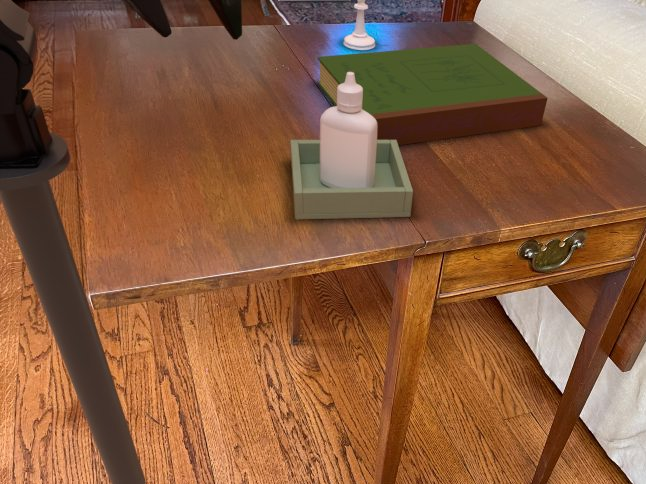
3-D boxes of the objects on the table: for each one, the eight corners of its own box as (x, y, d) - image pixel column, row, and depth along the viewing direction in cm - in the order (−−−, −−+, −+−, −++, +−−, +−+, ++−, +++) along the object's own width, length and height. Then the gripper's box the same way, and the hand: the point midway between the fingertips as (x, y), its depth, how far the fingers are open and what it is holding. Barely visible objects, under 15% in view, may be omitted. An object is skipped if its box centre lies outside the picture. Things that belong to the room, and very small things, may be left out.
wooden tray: (295, 219, 63) (294, 192, 61) (291, 165, 71) (290, 139, 68) (410, 217, 65) (413, 191, 63) (394, 164, 73) (396, 139, 70)
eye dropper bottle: (347, 203, 65) (351, 89, 57) (314, 179, 68) (313, 67, 60) (380, 190, 67) (388, 78, 59) (346, 167, 70) (349, 58, 62)
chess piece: (377, 40, 101) (381, -28, 95) (372, 52, 97) (376, -19, 91) (346, 37, 101) (348, -32, 95) (341, 48, 98) (342, -23, 91)
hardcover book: (369, 149, 75) (370, 119, 72) (317, 84, 87) (317, 56, 85) (545, 124, 84) (552, 97, 81) (476, 68, 96) (480, 43, 93)
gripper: (267, -187, 54) (318, 0, 65) (110, -164, 61) (180, 0, 72) (187, -145, 47) (260, 55, 58) (24, -124, 55) (115, 48, 66)
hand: (201, 36), depth 64 cm, fingers open, 9 cm apart
